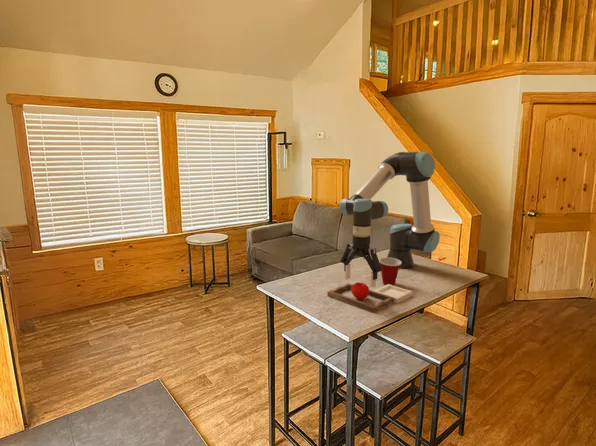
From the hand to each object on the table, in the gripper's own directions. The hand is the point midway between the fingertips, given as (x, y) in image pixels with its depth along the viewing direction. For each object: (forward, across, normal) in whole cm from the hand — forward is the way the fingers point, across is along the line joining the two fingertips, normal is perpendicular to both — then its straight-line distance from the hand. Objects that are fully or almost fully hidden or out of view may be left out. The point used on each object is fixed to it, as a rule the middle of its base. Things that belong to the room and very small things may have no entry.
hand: (359, 282), depth 164 cm
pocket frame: (+8, 0, 0) cm, 8 cm away
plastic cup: (+8, -1, +26) cm, 27 cm away
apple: (+8, 0, 0) cm, 8 cm away
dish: (+8, +8, +14) cm, 18 cm away
